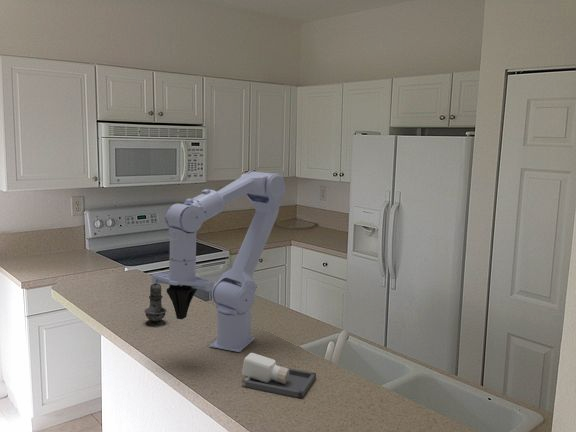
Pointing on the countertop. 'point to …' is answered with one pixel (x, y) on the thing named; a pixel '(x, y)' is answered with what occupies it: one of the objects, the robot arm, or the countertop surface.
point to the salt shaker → (155, 307)
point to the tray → (293, 387)
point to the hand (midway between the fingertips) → (181, 317)
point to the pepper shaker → (264, 369)
